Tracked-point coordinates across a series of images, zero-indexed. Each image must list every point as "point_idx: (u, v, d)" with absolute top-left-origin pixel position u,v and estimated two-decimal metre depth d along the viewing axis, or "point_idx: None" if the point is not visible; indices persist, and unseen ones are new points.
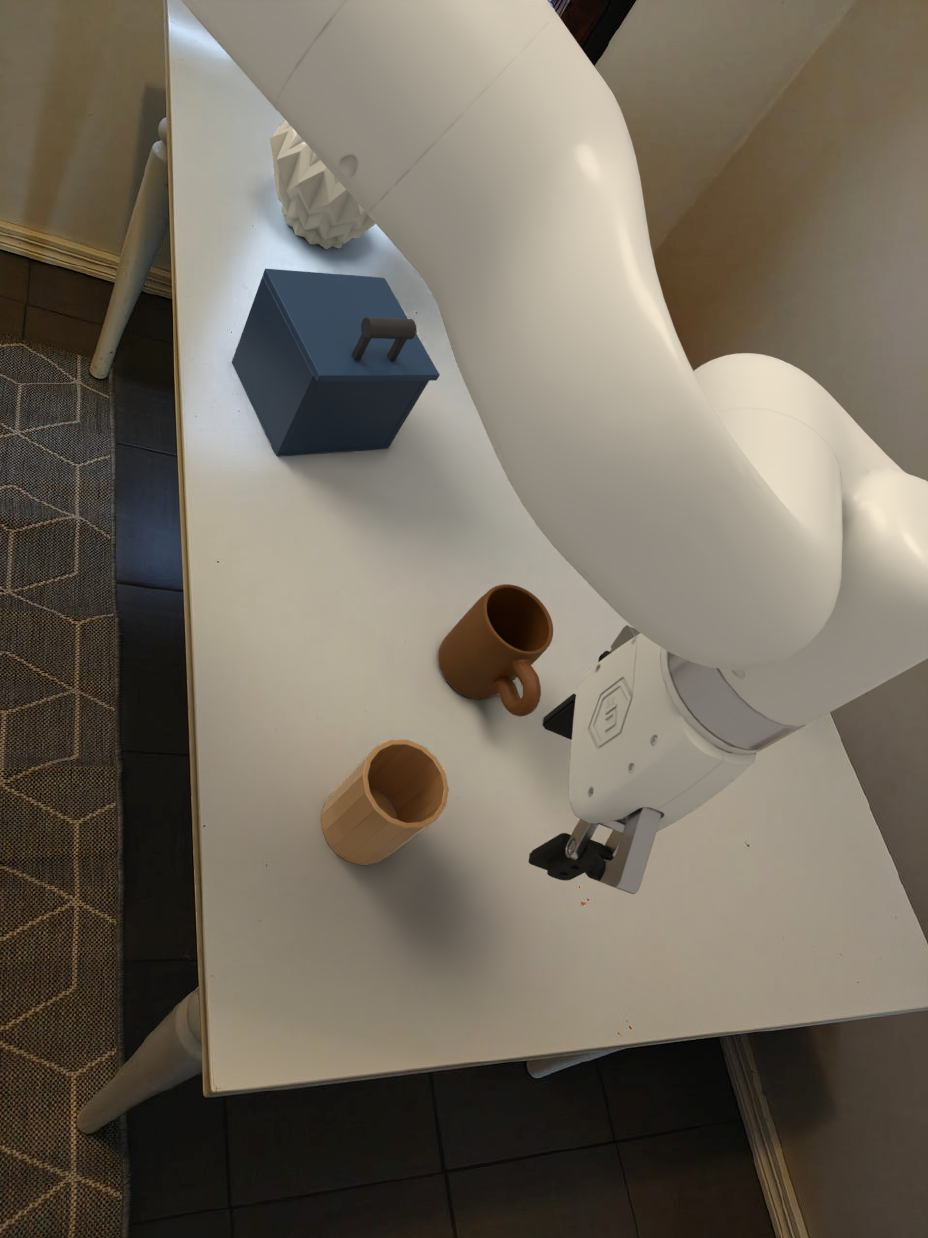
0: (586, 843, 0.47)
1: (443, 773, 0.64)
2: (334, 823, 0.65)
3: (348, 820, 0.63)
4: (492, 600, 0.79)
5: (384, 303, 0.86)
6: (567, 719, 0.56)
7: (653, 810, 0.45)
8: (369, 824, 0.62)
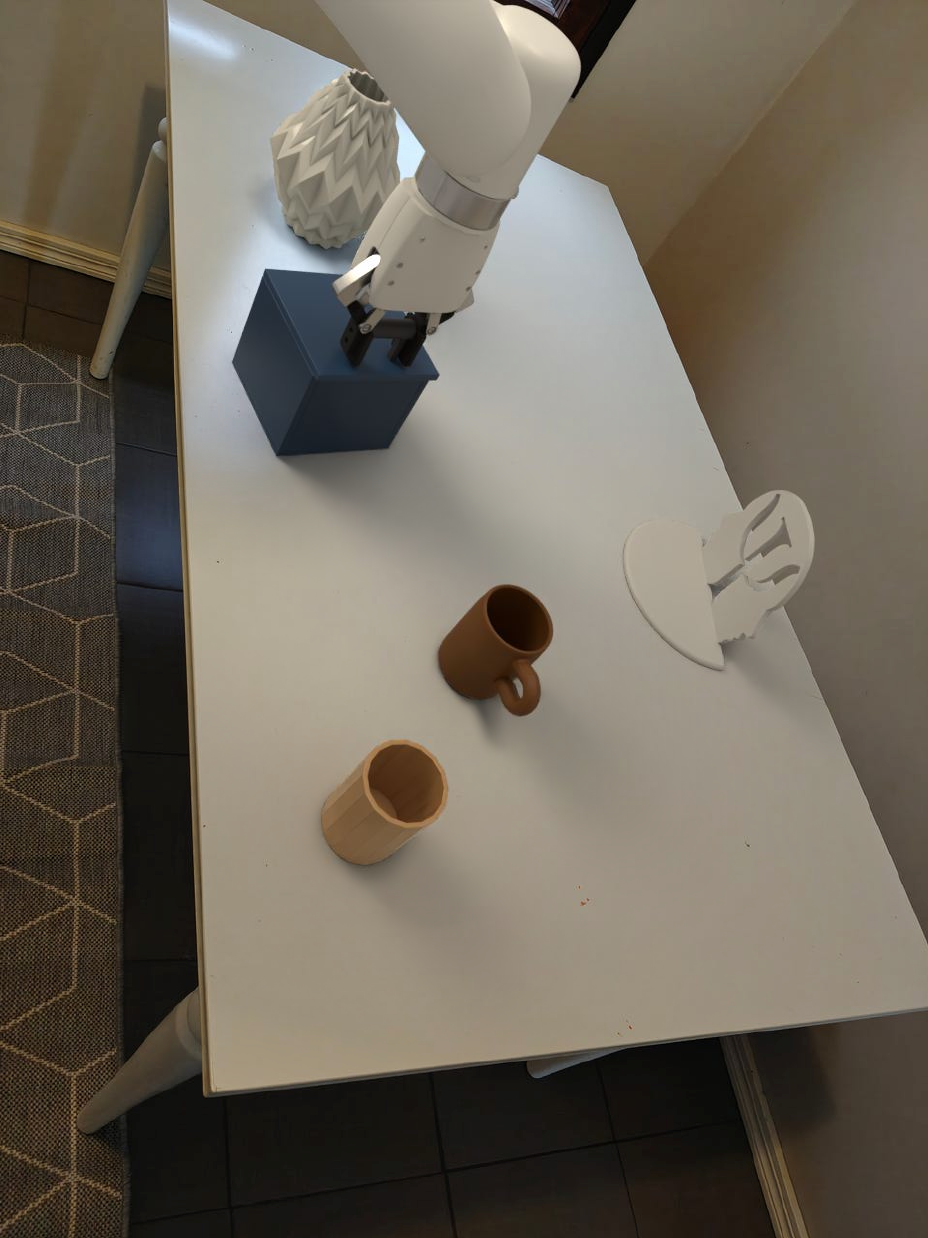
0: (360, 300, 0.75)
1: (443, 773, 0.64)
2: (334, 823, 0.65)
3: (348, 820, 0.63)
4: (492, 600, 0.79)
5: None
6: None
7: (376, 259, 0.70)
8: (369, 824, 0.62)
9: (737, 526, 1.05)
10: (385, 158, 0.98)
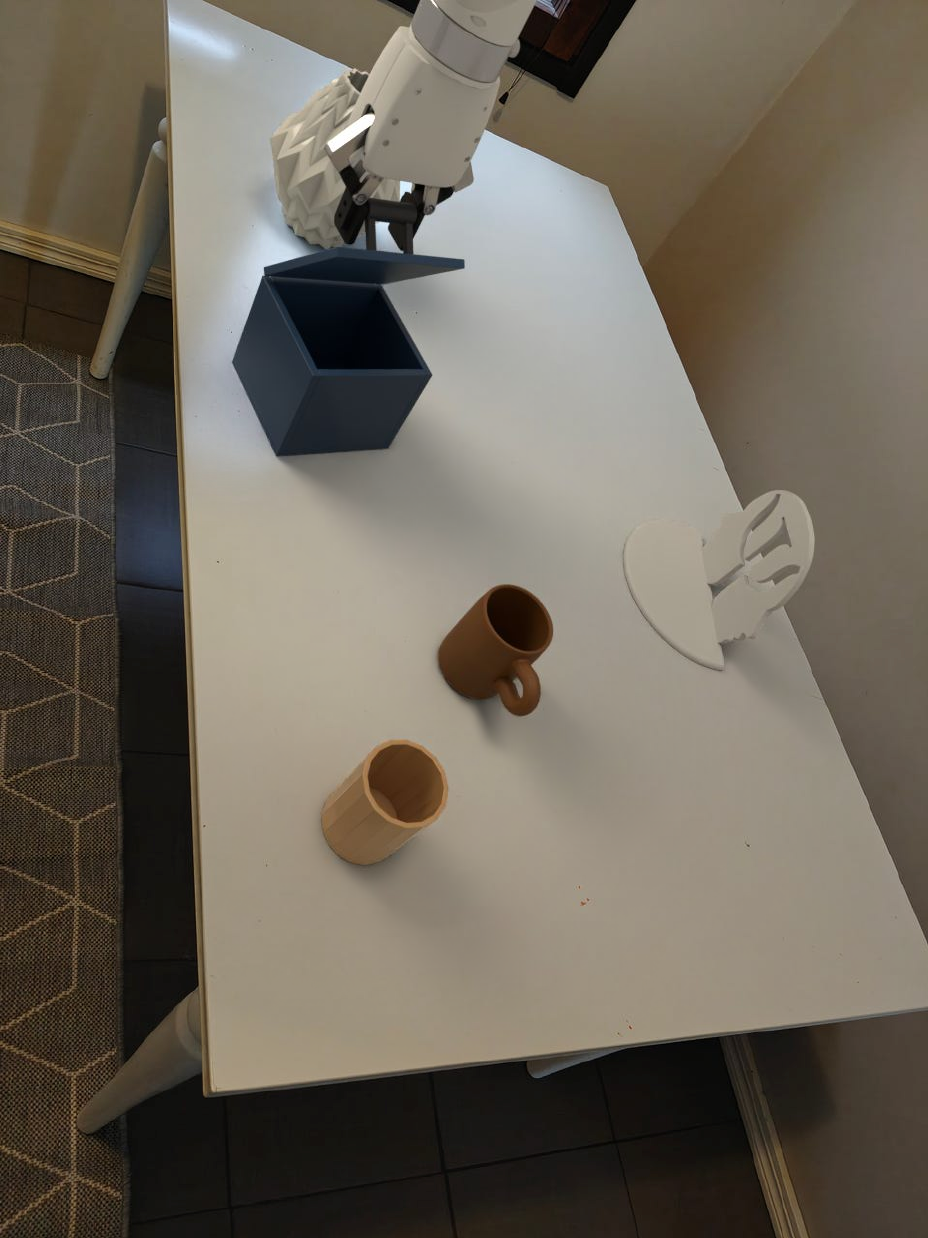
0: (354, 170, 0.72)
1: (443, 773, 0.64)
2: (334, 823, 0.65)
3: (348, 820, 0.63)
4: (492, 600, 0.79)
5: None
6: None
7: (370, 118, 0.67)
8: (369, 824, 0.62)
9: (737, 526, 1.05)
10: None
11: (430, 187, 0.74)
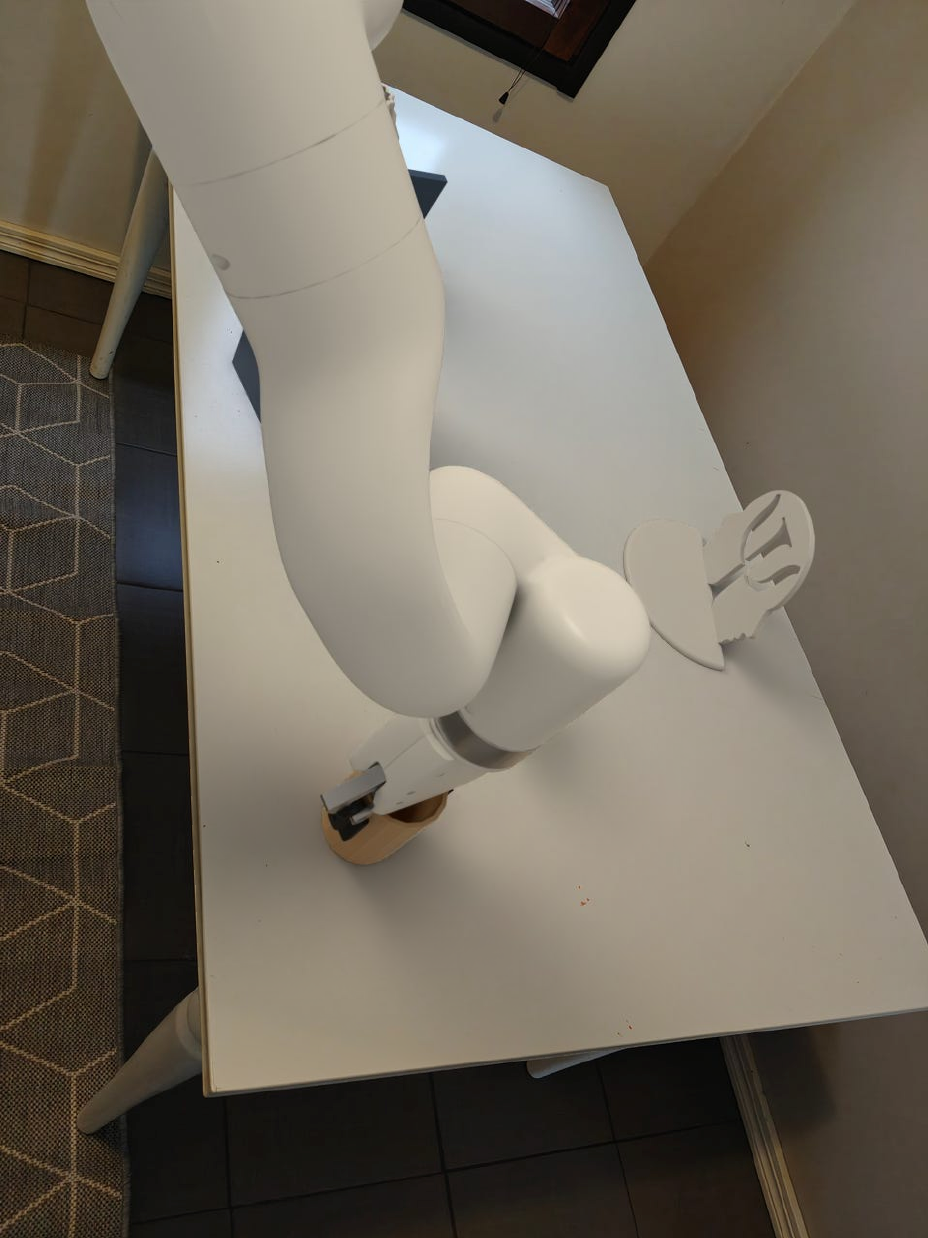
0: None
1: None
2: None
3: None
4: None
5: None
6: None
7: (381, 773, 0.55)
8: (369, 824, 0.62)
9: (737, 526, 1.05)
10: None
11: None
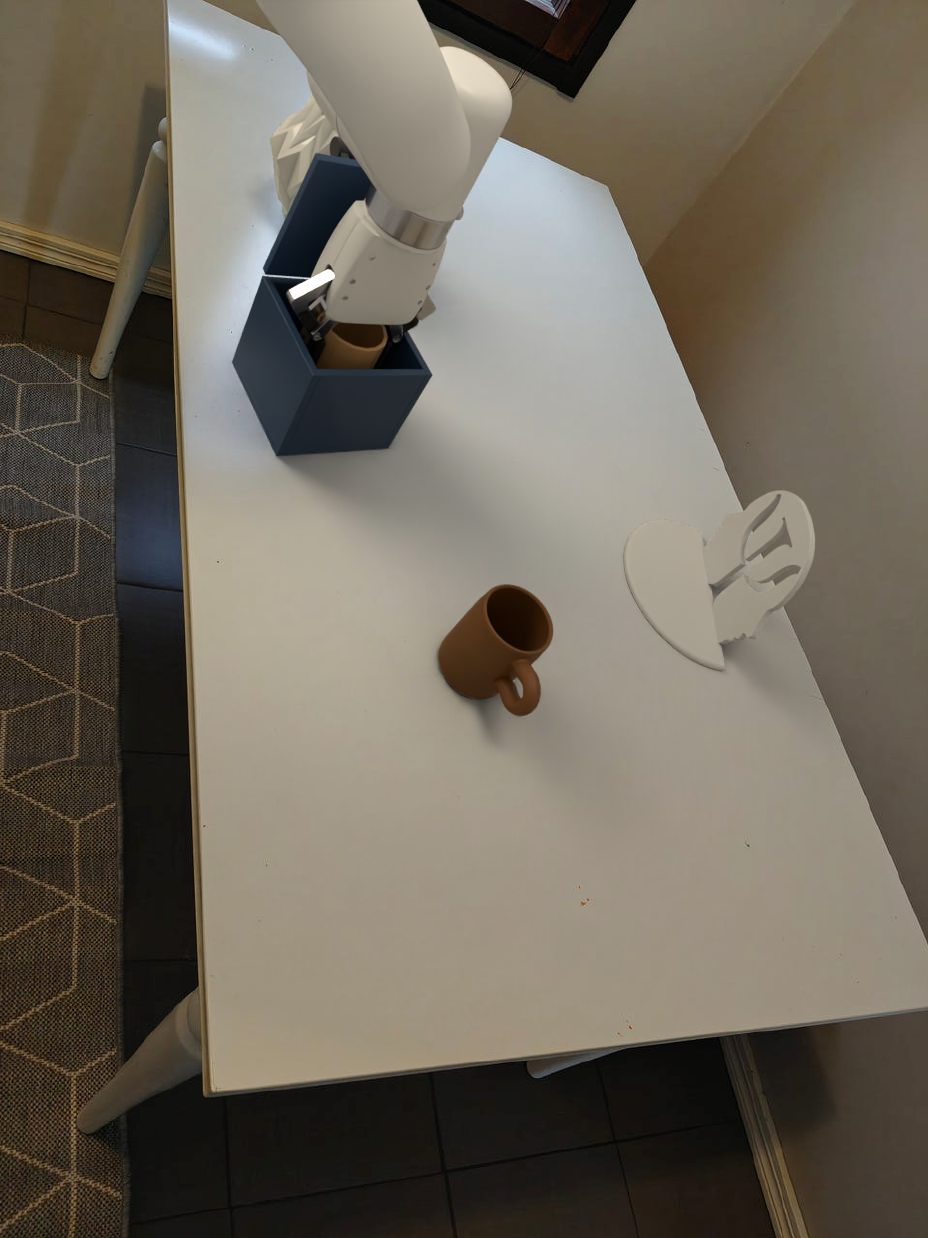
0: (311, 310, 0.80)
1: (384, 327, 0.84)
2: None
3: None
4: (492, 600, 0.79)
5: None
6: None
7: (331, 273, 0.75)
8: (326, 351, 0.82)
9: (738, 526, 1.05)
10: None
11: None
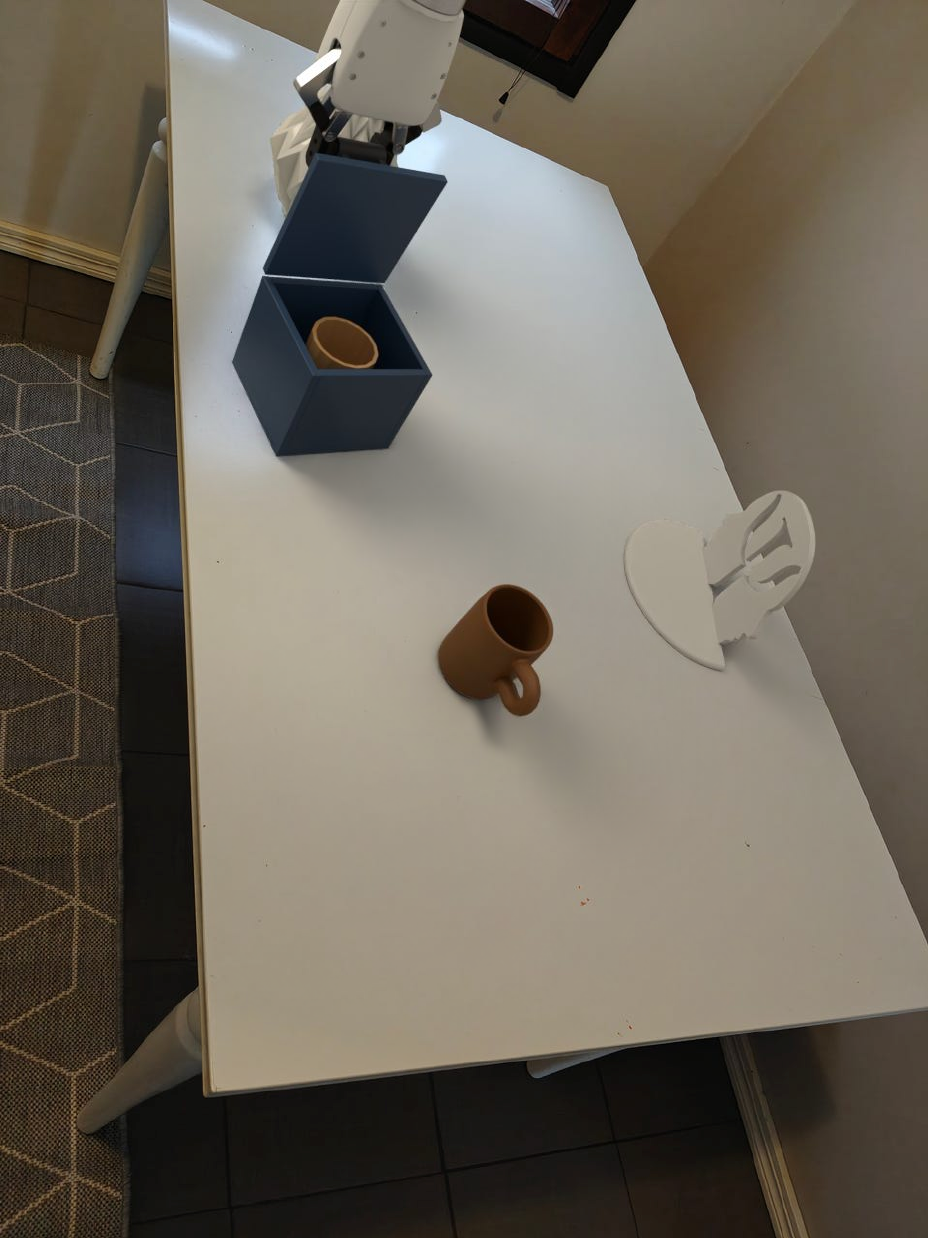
0: (324, 107, 0.74)
1: (375, 345, 0.86)
2: None
3: None
4: (492, 600, 0.79)
5: None
6: None
7: (337, 52, 0.69)
8: (317, 368, 0.83)
9: (738, 527, 1.05)
10: None
11: (398, 125, 0.76)
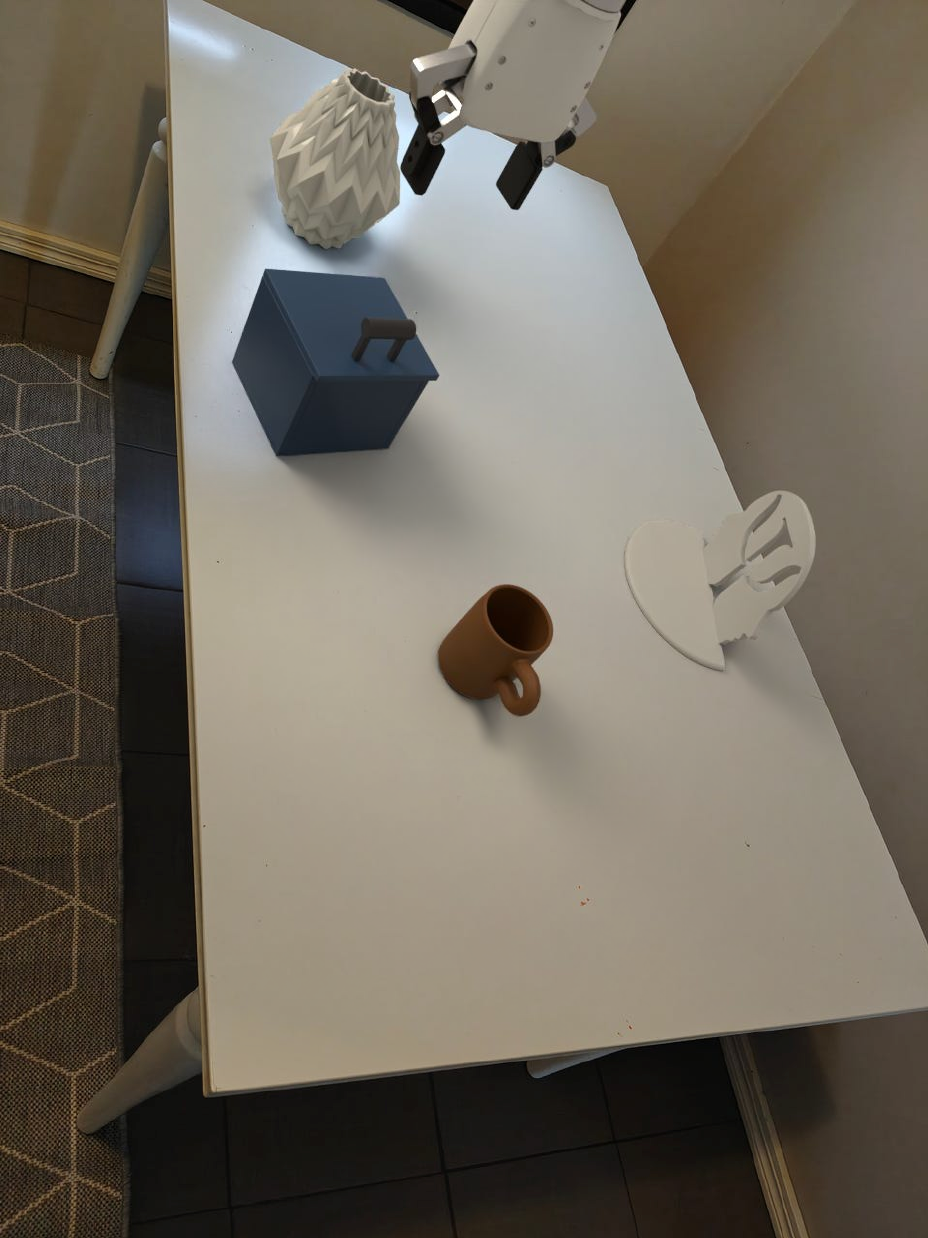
0: None
1: None
2: None
3: None
4: (492, 600, 0.79)
5: (384, 303, 0.86)
6: (510, 168, 0.69)
7: (473, 48, 0.57)
8: None
9: (738, 527, 1.05)
10: (385, 158, 0.98)
11: None
